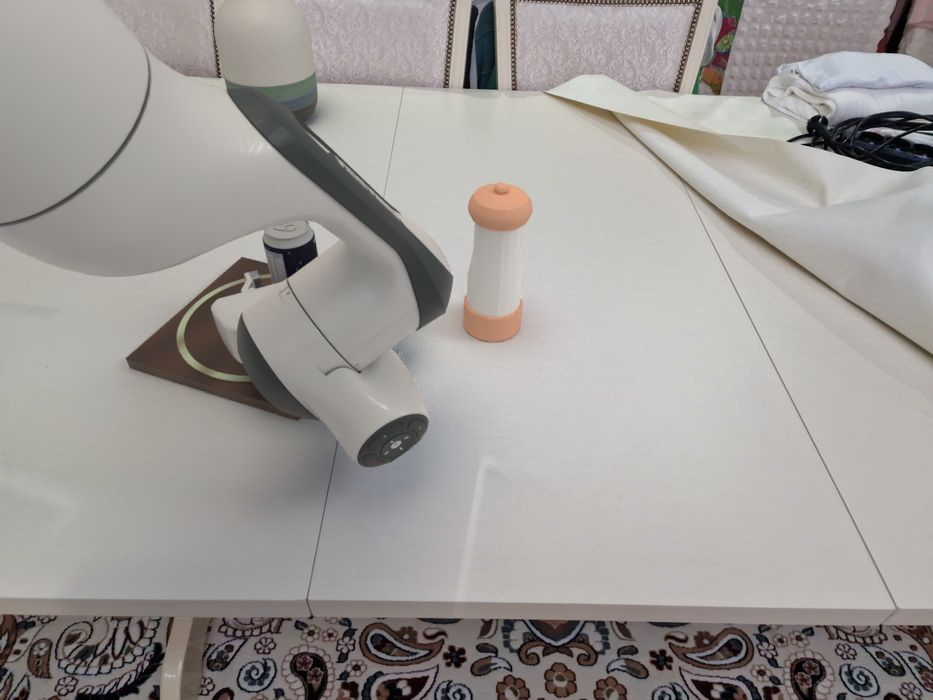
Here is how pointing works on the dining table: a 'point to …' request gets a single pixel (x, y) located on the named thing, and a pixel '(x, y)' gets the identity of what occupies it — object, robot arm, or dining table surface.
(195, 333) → the brown flat square board
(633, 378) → the dining table surface
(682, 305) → the dining table surface
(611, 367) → the dining table surface
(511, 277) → the pepper shaker
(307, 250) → the beverage can
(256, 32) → the vase
